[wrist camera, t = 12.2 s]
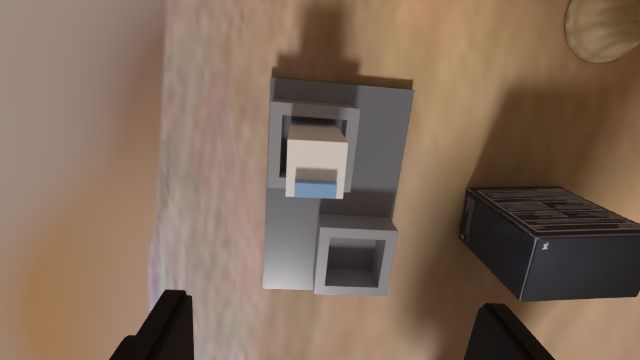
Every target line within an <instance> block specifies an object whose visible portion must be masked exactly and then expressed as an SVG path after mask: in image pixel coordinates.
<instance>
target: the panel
mask: <svg viewBox="0 0 640 360" xmlns="http://www.w3.org/2000/svg"><path fill="white" fill-rule="evenodd" d="M413 95H414V90H409V89H398V88H387V87H376V86H365V85H353V84H342V83H331V82H320V81H309V80H297V79H286V78H275V77H271V83H270V110H269V137H268V164H267V192H266V219H265V246H264V273H263V288H270V289H300V290H314V294H329V295H359V296H386V295H387V289H388V284H389V278H390V273H391V267H392V261H393V256H394V250H395V245H396V239H397V234H398V230H397V229H396V227H395V226H394V224H393V222H392V217H393V211H394V205H395V200H396V194H397V188H398V182H399V176H400V170H401V165H402V159H403V153H404V147H405V141H406V136H407V130H408V124H409V118H410V112H411V106H412V101H413ZM291 120H297V121H314V122H331V123H335V124H336V126H337V127H338V129H339V130H340V132H341V133H342V134H343V136H344V137H345V139H346V140H347V142H348V151H347V161H346V171H345V182H344V192H343V199H328V198H303V197H286V169H287V141H288V134H289V129H290V123H291Z"/></svg>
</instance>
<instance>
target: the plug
mask: <svg viewBox="0 0 640 360" xmlns="http://www.w3.org/2000/svg"><path fill="white" fill-rule="evenodd" d="M347 151H348V142H347V140H346V139H345V137H344V136H343V134H342V133H341V132H340V130H339V129H338V127H337V126H336V124H335V123H331V122H314V121H297V120H291V123H290V129H289V134H288V141H287V169H286V197H303V198H328V199H343V192H344V182H345V171H346V161H347Z"/></svg>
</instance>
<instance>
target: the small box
mask: <svg viewBox="0 0 640 360" xmlns="http://www.w3.org/2000/svg"><path fill="white" fill-rule="evenodd" d="M460 226H461V227H460V236H459V239H460V240H462V241H463V243H464V244H465V245H466V246H467V247H468V248H469V249H470V250H471V251H472V252H473V253H474V254H475V255H476V256H477V257H478V258H479V259H480V260H481V261H482V262H483V263H484V264H485V265H486V266H487V268H489V270H490V271H491V272H492V273H493V274H494V275H495V276H496V277H497V278H498V279H499V280H500V281H501V282H502V283H503V284H504V285H505V286H506V287H507V288H508V289H509V290H510V291H511V293H512V294H513V295H514V296H515V297H516V298H517V299H518V301H519V302H529V301H550V300H572V299H596V298H621V297H637V295H638V293H639V291H640V224H639V223H636V222H634V221H632V220H629V219H627V218H625V217H622V216H620V215H618V214H616V213H614V212H612V211H610V210H607V209H605V208H603V207H601V206H599V205H597V204H595V203H592V202H590V201H588V200H586V199H584V198H582V197H580V196H577V195H575V194H573V193H571V192H569V191H567V190H565V189H563V188H562V187H495V188H468V189H467V191H466V200H465V206H464V212H463V217H462V223H461V225H460Z"/></svg>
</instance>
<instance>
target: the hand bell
mask: <svg viewBox="0 0 640 360" xmlns="http://www.w3.org/2000/svg"><path fill="white" fill-rule="evenodd" d="M564 26H565V35H566V40H567V43H568V45H569V47H570V49H571V50H572V51H573V53H574V54H575V55H576V56H578V57H579V58H581V59H583V60H585V61H587V62H592V63H605V62H609V61H613V60H615V59H618V58H620V57H622V56H623V55H625V54H627V53H628V52H630V51H631V50H633V49H634V48H635V47H636V46H637V45H639V43H640V0H571V1H570V3H569V5H568V9H567V11H566V15H565V25H564Z"/></svg>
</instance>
